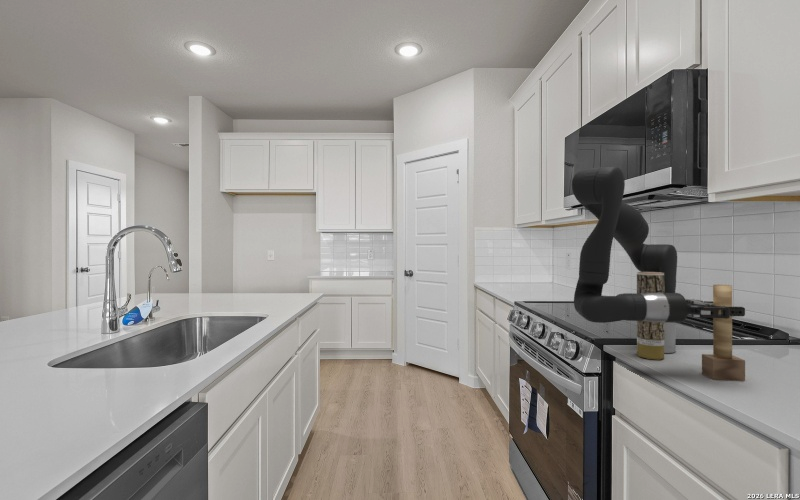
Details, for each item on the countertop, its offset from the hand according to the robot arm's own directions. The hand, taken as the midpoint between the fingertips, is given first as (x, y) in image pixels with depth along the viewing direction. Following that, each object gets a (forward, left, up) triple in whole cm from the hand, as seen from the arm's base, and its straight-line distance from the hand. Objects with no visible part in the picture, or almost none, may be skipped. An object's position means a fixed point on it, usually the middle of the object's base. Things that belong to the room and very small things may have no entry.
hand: (731, 308), depth 95 cm
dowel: (0, -2, -12) cm, 12 cm away
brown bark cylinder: (-16, -11, -17) cm, 26 cm away
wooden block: (0, -2, -17) cm, 17 cm away
